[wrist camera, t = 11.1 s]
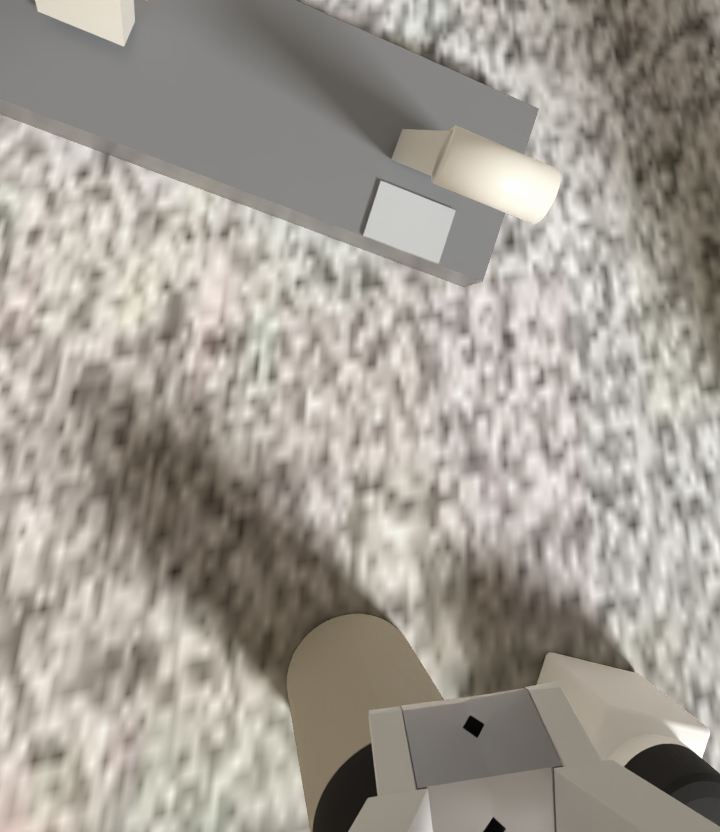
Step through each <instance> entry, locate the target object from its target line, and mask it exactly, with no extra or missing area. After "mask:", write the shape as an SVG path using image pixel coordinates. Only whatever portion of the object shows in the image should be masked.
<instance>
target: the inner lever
mask: <svg viewBox="0 0 720 832" xmlns="http://www.w3.org/2000/svg"><path fill="white" fill-rule="evenodd" d="M391 160H393V161H396V162H398V163H400V164H403V165H405V166H408V167H410V168H413V169H415V170H417V171H420V172H422V173H425V174H427V175H429V176H432V178H431V181H432V183H433V184H435V185H438V186H440V187H443V188H445V189H448V190H450V191H453V192H455V193H458V194H460V195H463V196H465V197H468V198H470V199H472V200H475V201H477V202H480V203H482V204H485V205H487V206H490V207H492V208H495V209H497V210H500V211H502V212H505V213H507V214H509V215H512V216H514V217H517V218H519V219H522V220H524V221H527V222H529V223H532V224H536V223H538V222H539V221H540V220H541V219H542V218H543V217H544V216H545V215H546V213H547V212H548V211H549V209H550V207H551V205H552V204H553V202H554V200H555V197H556V195H557V192H558V189H559V186H560V182H561V172H560V170H559V169H557V168H555V167H552V166H550V165H548V164H545V163H543V162H541V161H538V160H536V159H534V158H531V157H529V156H527V155H524V154H522V153H520V152H517V151H515V150H513V149H510V148H508V147H506V146H503V145H501V144H499V143H496V142H494V141H492V140H489V139H487V138H485V137H482V136H480V135H478V134H475V133H473V132H471V131H468V130H466V129H464V128H461V127H459V126H457V125H454V126H453V127H452V128H451V130H450V131H440V130H416V129H402V132H401V134H400V137H399V140H398V142H397V145H396V148H395V151H394V153H393V156H392V159H391Z"/></svg>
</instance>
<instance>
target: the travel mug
mask: <svg viewBox="0 0 720 832" xmlns="http://www.w3.org/2000/svg"><path fill="white" fill-rule="evenodd" d="M287 693H288V699H289V705H290V711H291V717H292V723H293V729H294V735H295V741H296V747H297V753H298V759H299V765H300V771H301V777H302V783H303V789H304V795H305V801H306V807H307V813H308V819H309V825H310V831H311V832H348V831H349V829H350V828H351V826H352V824H353V823H354V821H355V819H356V817H357V816H358V814H359V812H360V811H361V809H362V807H363V805H364V804H365V802H366V800H367V798H370V797H376V796H378V795H377V787H376V778H375V770H374V761H373V752H372V744H371V735H370V727H369V718H368V716H369V710H374V709H382V708H390V707H398V706H399V707H400V708H401V705H409V704H416V703H424V702H432V701H440V700H444V699H443V697H442V696H441V694H440V693H439V691H438V689H437V688H436V686H435V684H434V683H433V681H432V680H431V678H430V676H429V675H428V673H427V672H426V670H425V668H424V667H423V665H422V664H421V662H420V660H419V659H418V657H417V656H416V654H415V652H414V651H413V649H412V648H411V646H410V644H409V643H408V641H407V640H406V638H405V637H404V635H403V634H402V633H401V632H400V631H399V630H398V629H397V628H396V627H395V626H393V625H392V624H391V623H389V622H387V621H385V620H383V619H381V618H379V617H376V616H372V615H367V614H347V615H342V616H338V617H335V618H332V619H330V620H328V621H326V622H324V623H322V624H320V625H319V626H317V627H316V628H314V629H313V630H312V631H311V632H310V633H309V634H308V635H307V636H306V637H305V638H304V639H303V640H302V641H301V643H300V644H299V646H298V647H297V649H296V650H295V652H294V654H293V656H292V659H291V661H290V664H289V668H288V673H287Z"/></svg>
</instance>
